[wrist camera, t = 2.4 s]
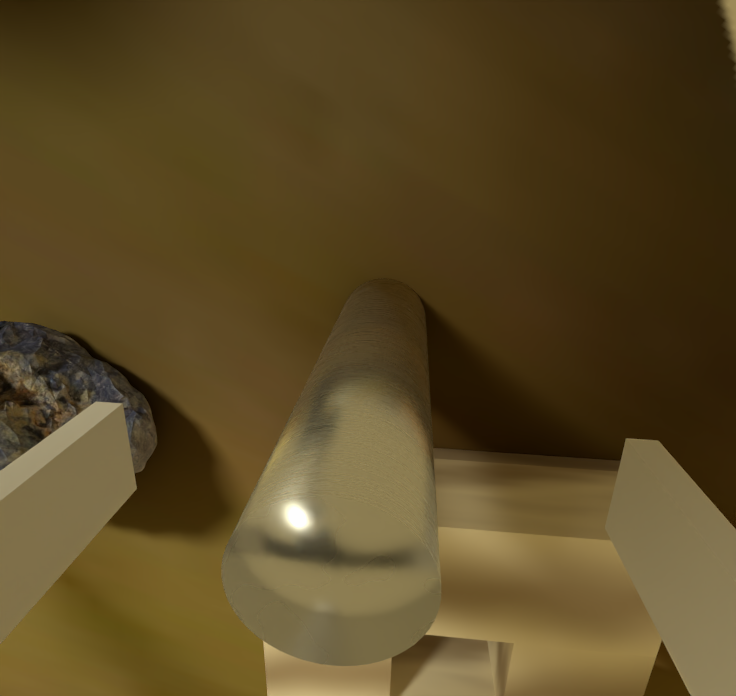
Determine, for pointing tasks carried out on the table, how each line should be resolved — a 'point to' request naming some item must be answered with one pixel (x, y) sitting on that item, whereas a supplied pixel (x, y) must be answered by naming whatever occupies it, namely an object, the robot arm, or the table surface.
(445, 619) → the bore block
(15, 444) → the rock
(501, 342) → the table surface
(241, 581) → the pin
